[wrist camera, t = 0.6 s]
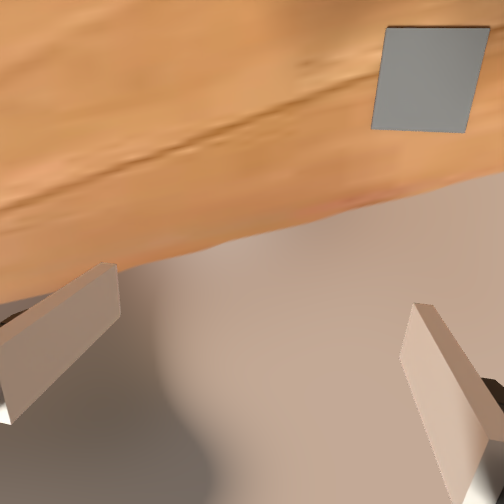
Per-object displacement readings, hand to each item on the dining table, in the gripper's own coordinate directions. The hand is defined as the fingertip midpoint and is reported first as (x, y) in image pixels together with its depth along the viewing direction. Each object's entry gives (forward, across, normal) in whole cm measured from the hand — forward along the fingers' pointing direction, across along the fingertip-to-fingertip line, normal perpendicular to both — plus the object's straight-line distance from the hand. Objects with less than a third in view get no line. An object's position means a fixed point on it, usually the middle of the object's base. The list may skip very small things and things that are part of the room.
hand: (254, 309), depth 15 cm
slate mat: (+27, +12, +12) cm, 32 cm away
